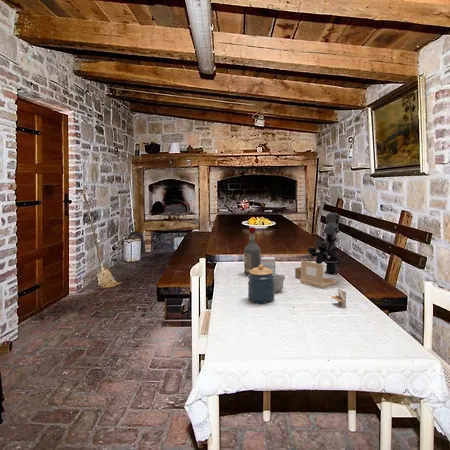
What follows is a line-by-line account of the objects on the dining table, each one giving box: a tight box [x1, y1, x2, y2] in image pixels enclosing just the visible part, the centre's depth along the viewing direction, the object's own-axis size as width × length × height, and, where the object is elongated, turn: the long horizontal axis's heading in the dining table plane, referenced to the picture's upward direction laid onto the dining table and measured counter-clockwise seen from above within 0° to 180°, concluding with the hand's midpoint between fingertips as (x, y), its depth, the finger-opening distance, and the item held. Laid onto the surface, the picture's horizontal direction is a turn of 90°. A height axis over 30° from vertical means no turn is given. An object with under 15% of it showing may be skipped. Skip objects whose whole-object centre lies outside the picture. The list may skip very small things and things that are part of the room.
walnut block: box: [294, 266, 301, 280], centre depth 204 cm, size 4×4×6 cm
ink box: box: [261, 256, 276, 274], centre depth 209 cm, size 9×5×12 cm, turn 86°
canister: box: [247, 264, 275, 304], centre depth 167 cm, size 13×13×18 cm
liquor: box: [243, 226, 262, 277], centre depth 213 cm, size 9×9×30 cm
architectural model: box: [330, 288, 347, 308], centre depth 158 cm, size 3×7×7 cm, turn 16°
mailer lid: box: [300, 260, 324, 284], centre depth 189 cm, size 11×15×1 cm
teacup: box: [273, 273, 286, 293], centre depth 182 cm, size 14×11×8 cm
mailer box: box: [299, 277, 337, 289], centre depth 193 cm, size 12×15×2 cm
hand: (316, 265), depth 191 cm, fingers closed
